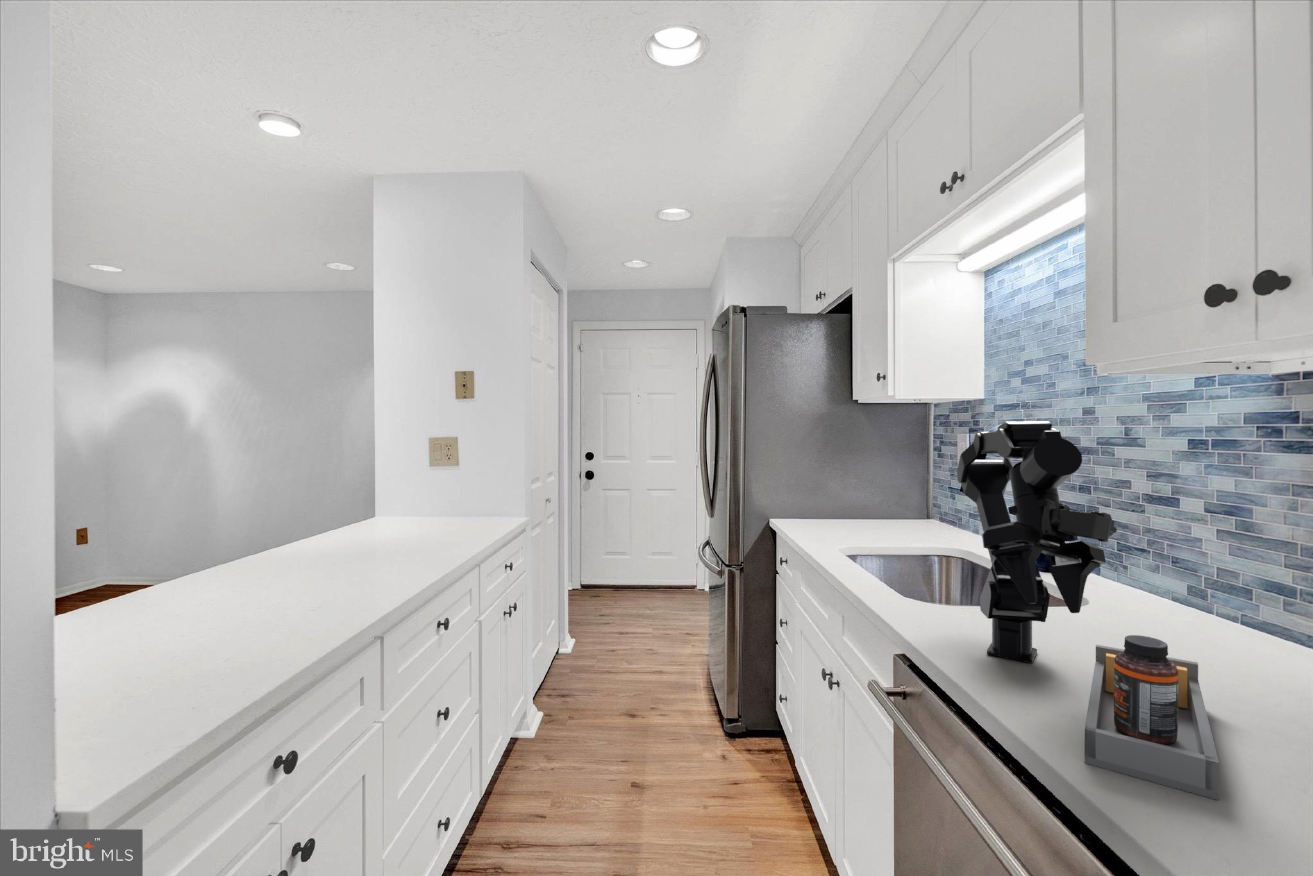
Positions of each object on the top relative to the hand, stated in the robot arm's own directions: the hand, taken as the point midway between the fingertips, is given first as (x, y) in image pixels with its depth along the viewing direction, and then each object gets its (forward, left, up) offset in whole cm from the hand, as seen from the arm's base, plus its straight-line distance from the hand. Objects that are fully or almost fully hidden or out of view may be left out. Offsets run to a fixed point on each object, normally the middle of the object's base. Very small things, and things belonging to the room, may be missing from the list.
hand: (1054, 608), depth 82 cm
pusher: (-7, +10, -12) cm, 17 cm away
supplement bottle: (+6, +10, -12) cm, 17 cm away
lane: (+3, +10, -13) cm, 16 cm away
